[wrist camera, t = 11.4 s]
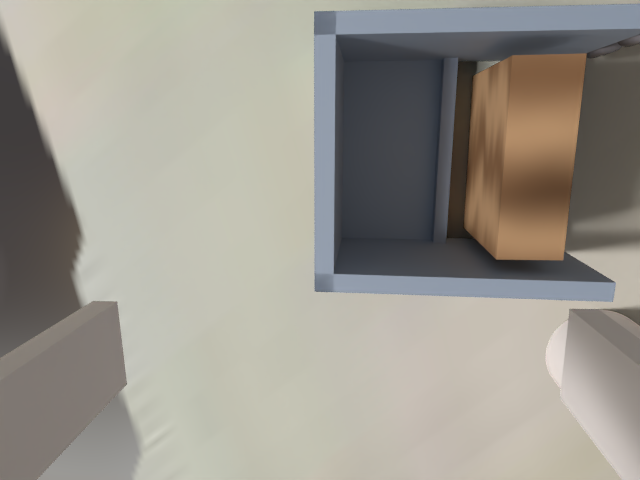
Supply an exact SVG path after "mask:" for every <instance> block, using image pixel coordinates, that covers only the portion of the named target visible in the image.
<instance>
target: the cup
mask: <svg viewBox="0 0 640 480" xmlns="http://www.w3.org/2000/svg"><path fill="white" fill-rule="evenodd" d="M600 311H602V312H603V313H604V314H606V315H607V316H609V317H610V318H611V319H613V320H614V321H615V322H617V323H618V324H620V325H621V326H622V327H624V328H625V329H627V330H628V331H629V332H631V333H632V334H633V335H635V336H636V337H638V338H639V339H640V326H639V325H638V324H636V323H635V322H634V321H632V320H631V319H629V318H628V317H626V316H624V315H622V314H620V313H617V312H614V311H609V310H600ZM567 328H568V319H567V320H566V321H565V322H563V323H562V324H561V325H560V326H559V327H558V328H557V329H556V330H555V332H554V333H553V334H552V336H551V338H550V340H549V342H548V345H547V349H546V365H547V368H548V371H549V373H550V375H551V377H552V378H553V380H554V381H555V382H556V384H557V385H558V386H559V388H560V389H561V383H562V374H563V365H564V355H565V346H566V337H567Z"/></svg>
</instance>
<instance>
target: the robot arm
mask: <svg viewBox="0 0 640 480" xmlns="http://www.w3.org/2000/svg"><path fill="white" fill-rule="evenodd" d="M126 385H127V381H126V373H125V364H124V356H123V347H122V339H121V330H120V322H119V314H118V305H117V302H110V301H93V302H91V303H89V304H88V305H86V306H84V307H83V308H81V309H80V310H78V311H76V312H75V313H73V314H71V315H70V316H68V317H66V318H65V319H63V320H62V321H60V322H58V323H57V324H55V325H54V326H52V327H50V328H49V329H47V330H45V331H44V332H42V333H40V334H39V335H37V336H36V337H34V338H32V339H31V340H29V341H28V342H26V343H24V344H23V345H21V346H19V347H18V348H16V349H15V350H13V351H11V352H9V353H8V354H7V355H5V356H3V357H2V358H0V480H37V479H38V478H39V477H40V476H41V475H42V473H43V472H44V471H45V470H46V469H47V468H48V467H49V466H50V465H51V464H52V463H53V462H54V461H55V460H56V459H57V458H58V457H59V456H60V454H61V453H62V452H63V451H64V450H65V449H66V448H67V447H68V446H69V445H70V444H71V443H72V442H73V441H74V440H75V439H76V438H77V436H78V435H79V434H80V433H81V432H82V431H83V430H84V429H85V428H86V427H87V426H88V425H89V424H90V423H91V422H92V421H93V420H94V418H95V417H96V416H97V415H98V414H99V413H100V412H101V411H102V410H103V409H104V408H105V407H106V406H107V405H108V403H110V401H111V400H112V399H113V398H114V397H115V396H116V395H117V394H118V393H119V392H120V391H121V390H122V389H123V388H124V387H125V386H126ZM560 399H561V400H562V402H563V403H564V404H565V406H566V407H567V408H568V410H569V411H570V412H571V413H572V415H573V416H574V417H575V419H576V420H577V421H578V423H579V424H580V425H581V427H582V428H583V429H584V430H585V432H586V433H587V434H588V436H589V437H590V438H591V440H592V441H593V442H594V444H595V445H596V446H597V448H598V449H599V450H600V451H601V453H602V454H603V455H604V457H605V458H606V459H607V461H608V462H609V463H610V465H611V466H612V467H613V469H614V470H615V471H616V472H617V474H618V475H619V476H620V478H621V479H622V480H640V339H639V338H638V337H636V336H635V335H633V334H632V333H631V332H629V331H628V330H627V329H625V328H624V327H622V326H621V325H620V324H618V323H617V322H615V321H614V320H613V319H611V318H610V317H609V316H607V315H606V314H604V313H603V312H602V311H600V310H599V309H569V319H568V328H567V337H566V346H565V355H564V365H563V374H562V383H561V392H560Z"/></svg>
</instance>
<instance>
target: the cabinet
mask: <svg viewBox="0 0 640 480" xmlns="http://www.w3.org/2000/svg"><path fill="white" fill-rule="evenodd" d="M639 43H640V4H611V5H569V6H527V7H485V8H443V9H400V10H358V11H316V12H314V168H315V291H316V292H345V293H374V294H403V295H432V296H461V297H490V298H519V299H547V300H576V301H605V302H613V298H614V292H615V285H616V282H614V281H612V280H611V279H609V278H607V277H606V276H604V275H602V274H601V273H599V272H597V271H596V270H594V269H592V268H591V267H589V266H587V265H586V264H584V263H582V262H581V261H579V260H577V259H576V258H574V257H573V256H571V255H569V254H568V253H566V252H564V258H563V260H496V259H495V258H494V257H493V256H492V255H491V254H490V253H489V252H488V251H487V250H486V249H485V248H484V247H483V246H482V245H481V244H480V243H479V242H478V241H477V240H476V239H466V238H446V236H447V221H448V206H449V191H450V176H451V160H452V145H453V130H454V115H455V100H456V85H457V70H458V62H463V61H503V60H505V59H507V58H508V57H510V56H512V55H545V54H582V53H587V56H586V57H587V58H596V57H599V56H602V55H605V54H608V53H611V52H614V51H617V50H618V49H620V48H621V47H622V46H623V47H629V46H633V45H636V44H639Z"/></svg>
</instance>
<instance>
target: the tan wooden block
mask: <svg viewBox="0 0 640 480" xmlns="http://www.w3.org/2000/svg"><path fill="white" fill-rule="evenodd" d="M586 56H587V53H582V54H545V55H512V56H510V57H508V58H507V59H505V60H503V61H501V62H499V63H497V64H495V65H493V66H491V67H489V68H487V69H485V70H484V71H482V72H480V73H478V74H476V75H474V76H473V81H472V97H471V114H470V130H469V146H468V163H467V179H466V195H465V212H464V228H465V229H466V230H467V231H468V232H469V233H470V234H471V235H472V236H473V237H474V238H475V239H476V240H477V241H478V242H479V243H480V244H481V245H482V246H483V247H484V248H485V249H486V250H487V251H488V252H489V253H490V254H491V255H492V256H493V257H494V258H495V259H496V260H563V258H564V249H565V240H566V232H567V223H568V214H569V205H570V196H571V188H572V179H573V170H574V161H575V152H576V144H577V135H578V126H579V117H580V109H581V100H582V91H583V82H584V73H585V65H586Z"/></svg>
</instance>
